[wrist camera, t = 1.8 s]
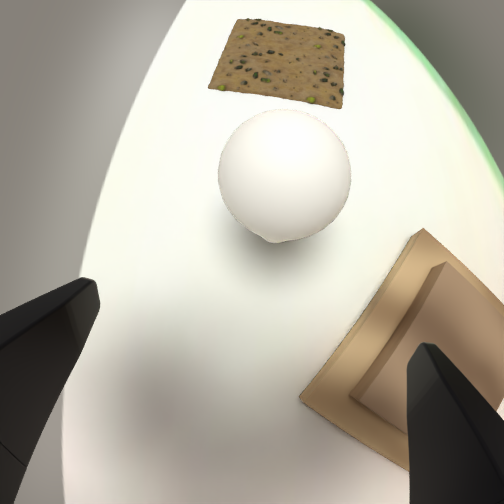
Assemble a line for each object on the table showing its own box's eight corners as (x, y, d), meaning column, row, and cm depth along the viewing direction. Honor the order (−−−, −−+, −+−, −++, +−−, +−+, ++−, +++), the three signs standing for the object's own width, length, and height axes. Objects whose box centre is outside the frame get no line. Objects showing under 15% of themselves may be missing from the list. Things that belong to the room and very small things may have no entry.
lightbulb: (229, 272, 22) (204, 210, 11) (232, 188, 23) (216, 81, 12) (320, 273, 22) (378, 214, 11) (316, 190, 23) (356, 87, 12)
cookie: (235, 21, 29) (235, 15, 28) (344, 37, 28) (346, 31, 27) (205, 92, 26) (204, 85, 25) (342, 113, 25) (344, 107, 24)
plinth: (430, 481, 17) (455, 499, 13) (298, 396, 19) (308, 409, 16) (516, 337, 20) (547, 334, 16) (411, 236, 22) (436, 218, 18)
